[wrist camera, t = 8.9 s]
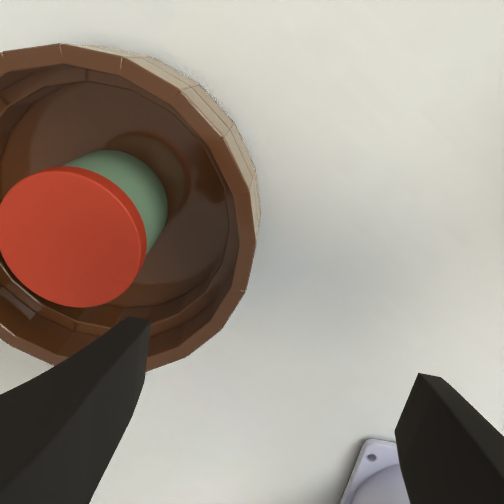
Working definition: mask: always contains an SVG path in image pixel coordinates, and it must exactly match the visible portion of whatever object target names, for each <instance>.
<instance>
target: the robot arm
mask: <svg viewBox="0 0 504 504" xmlns="http://www.w3.org/2000/svg"><path fill="white" fill-rule="evenodd" d="M151 321H152V320H147V319H141V318H136V317H131V316H128V317H126V318H125V319H123V320H122V321H121V322H119V323H118V324H116V325H115V326H114V327H112V328H111V329H110V330H108V331H107V332H105V333H104V334H103V335H101V336H100V337H98V338H97V339H96V340H94V341H93V342H91V343H90V344H88V345H87V346H85V347H84V348H82V349H81V350H80V351H78V352H77V353H75V354H74V355H72V356H71V357H69V358H67V359H66V360H64V361H62V362H61V363H59V364H57V365H56V366H54V367H52V368H51V369H49V370H47V371H46V372H44V373H42V374H41V375H39V376H37V377H35V378H33V379H31V380H30V381H28V382H26V383H24V384H22V385H19V386H17V387H15V388H13V389H11V390H9V391H7V392H5V393H3V394H1V395H0V504H89V503H90V501H91V498H92V496H93V494H94V492H95V490H96V488H97V486H98V484H99V482H100V480H101V478H102V476H103V474H104V472H105V470H106V468H107V466H108V464H109V462H110V460H111V458H112V456H113V454H114V452H115V450H116V448H117V446H118V444H119V442H120V440H121V438H122V436H123V434H124V432H125V430H126V428H127V426H128V424H129V422H130V420H131V418H132V415H133V413H134V410H135V407H136V404H137V402H138V399H139V396H140V393H141V390H142V387H143V384H144V380H145V372H146V363H147V355H148V346H149V338H150V329H151ZM395 438H396V443H393V442H388V441H383V440H378V439H369V440H367V441H365V443H364V444H363V447H362V449H361V452H360V454H359V457H358V459H357V462H356V464H355V467H354V469H353V472H352V474H351V477H350V479H349V482H348V484H347V487H346V489H345V492H344V494H343V497H342V500H341V502H340V504H504V436H503V435H502V434H500V433H499V432H498V431H497V430H496V429H495V428H494V427H493V426H492V425H491V424H490V423H489V422H488V421H487V420H486V419H485V418H484V417H483V416H482V415H481V414H480V413H479V412H478V411H477V410H476V409H475V408H474V407H473V406H471V405H470V404H469V403H468V402H467V401H466V400H465V399H464V398H463V397H462V396H461V395H460V394H459V393H458V392H457V391H456V390H455V389H454V388H453V387H452V386H451V385H449V384H448V383H447V382H446V381H445V380H444V379H442V378H441V377H437V376H431V375H426V374H421V373H418V375H417V378H416V380H415V383H414V385H413V387H412V390H411V392H410V395H409V397H408V400H407V402H406V404H405V407H404V409H403V412H402V414H401V416H400V419H399V421H398V424H397V426H396V429H395ZM370 454H373V455H371V456H368V455H370Z"/></svg>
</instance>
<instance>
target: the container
mask: <svg viewBox="0 0 504 504" xmlns="http://www.w3.org/2000/svg"><path fill="white" fill-rule="evenodd" d="M167 217H168V201H167V196H166V193H165V190H164V187H163V185H162V183H161V181H160V180H159V178H158V177H157V175H156V174H155V173H154V172H153V170H152V169H151V168H150V167H149V166H147V165H146V164H145V163H144V162H142V161H141V160H140V159H138V158H136V157H134V156H132V155H130V154H128V153H125V152H121V151H116V150H98V151H94V152H90V153H88V154H86V155H84V156H82V157H79V158H77V159H75V160H73V161H71V162H69V163H67V164H65V165H63V166H58V167H51V168H47V169H44V170H41V171H39V172H37V173H34V174H32V175H30V176H28V177H26V178H24V179H22V180H21V181H19V182H17V183H16V184H15V185H14V186H13V187H12V188H11V189H10V190H9V191H8V193H7V194H6V195H5V197H4V198H3V200H2V202H1V204H0V251H1V254H2V256H3V258H4V260H5V262H6V264H7V265H8V267H9V268H10V270H11V271H12V272H13V274H14V275H15V276H16V277H17V278H18V279H19V280H20V281H21V282H22V283H23V284H24V285H25V286H26V287H27V288H29V289H30V290H31V291H33V292H34V293H36V294H37V295H39V296H41V297H43V298H45V299H47V300H49V301H51V302H54V303H57V304H60V305H64V306H69V307H82V308H84V307H93V306H98V305H102V304H105V303H107V302H110V301H112V300H114V299H116V298H117V297H118V296H120V295H121V294H123V293H124V292H125V291H126V290H127V289H128V288H129V286H130V285H131V284H132V282H133V281H134V279H135V278H136V276H137V275H138V273H139V272H140V270H141V268H142V266H143V263H144V260H145V256H146V255H147V253H148V252H149V250H150V249H151V247H152V246H153V245H154V243H155V242H156V240H157V239H158V237H159V236H160V235H161V233H162V231H163V229H164V227H165V225H166V222H167Z"/></svg>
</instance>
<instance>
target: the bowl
mask: <svg viewBox="0 0 504 504" xmlns="http://www.w3.org/2000/svg"><path fill="white" fill-rule="evenodd" d="M98 150H116V151H121V152H125V153H128V154H130V155H132V156H134V157H136V158H138V159H140V160H141V161H142V162H144V163H145V164H146V165H147V166H149V167H150V168H151V169H152V170H153V172H154V173H155V174H156V175H157V177H158V178H159V180H160V181H161V183H162V185H163V187H164V190H165V193H166V196H167V201H168V217H167V222H166V225H165V227H164V229H163V231H162V233H161V235H160V236H159V237H158V239H157V240H156V242H155V243H154V245H153V246H152V247H151V249H150V250H149V252H148V253H147V255H146V256H145V260H144V263H143V266H142V268H141V270H140V272H139V273H138V275H137V276H136V278H135V279H134V281H133V282H132V284H131V285H130V286H129V288H128V289H127V290H126V291H125V292H124V293H123V294H121V295H120V296H118V297H117V298H116V299H114V300H112V301H110V302H107V303H105V304H102V305H98V306H93V307H84V308H82V307H69V306H64V305H60V304H57V303H54V302H51V301H49V300H47V299H45V298H43V297H41V296H39V295H37V294H36V293H34V292H33V291H31V290H30V289H29V288H27V287H26V286H25V285H24V284H23V283H22V282H21V281H20V280H19V279H18V278H17V277H16V276H15V275H14V274H13V272H12V271H11V270H10V268H9V267H8V265H7V264H6V262H5V260H4V258H3V256H2V254H1V251H0V339H2V340H3V341H4V342H6V343H7V344H9V345H10V346H12V347H15V348H17V349H19V350H21V351H23V352H25V353H27V354H30V355H32V356H34V357H36V358H38V359H40V360H42V361H45V362H47V363H49V364H51V365H54V366H56V365H57V364H59V363H61V362H62V361H64V360H66V359H67V358H69V357H71V356H72V355H74V354H75V353H77V352H78V351H80V350H81V349H82V348H84V347H85V346H87V345H88V344H90V343H91V342H93V341H94V340H96V339H97V338H98V337H100V336H101V335H103V334H104V333H105V332H107V331H108V330H110V329H111V328H112V327H114V326H115V325H116V324H118V323H119V322H121V321H122V320H123V319H125V318H126V317H128V316H131V317H136V318H141V319H147V320H152V321H151V329H150V338H149V346H148V355H147V363H146V372H147V371H150V370H152V369H155V368H158V367H161V366H163V365H166V364H169V363H172V362H175V361H177V360H180V359H183V358H186V357H187V356H189V355H190V354H191V353H192V352H194V351H195V350H196V349H198V348H199V347H200V346H201V345H203V344H204V343H205V342H206V341H208V340H209V339H210V338H212V337H213V336H214V335H215V334H217V333H218V332H219V331H221V329H222V328H223V327H224V325H225V324H226V322H227V321H228V319H229V317H230V316H231V314H232V313H233V311H234V310H235V308H236V306H237V305H238V303H239V302H240V300H241V299H242V297H243V295H244V294H245V291H246V290H247V285H248V280H249V276H250V271H251V267H252V262H253V257H254V253H255V248H256V243H257V235H258V228H259V221H260V204H259V195H258V187H257V178H256V170H255V166H254V164H253V162H252V160H251V158H250V156H249V153H248V151H247V149H246V147H245V145H244V143H243V140H242V138H241V136H240V134H239V132H238V130H237V127H236V125H235V124H234V123H233V121H232V120H231V119H230V118H229V117H228V116H227V114H226V113H225V112H224V111H223V110H222V109H221V108H220V107H219V106H218V104H217V103H216V102H215V101H214V100H213V99H212V98H211V97H210V96H209V95H208V93H207V92H206V91H205V90H204V89H203V88H202V87H201V86H199V84H198V83H196V82H195V81H193V80H191V79H189V78H188V77H186V76H184V75H183V74H181V73H179V72H178V71H176V70H174V69H172V68H171V67H169V66H167V65H166V64H164V63H162V62H161V61H159V60H157V59H155V58H152V57H149V56H145V55H140V54H135V53H131V52H126V51H121V50H117V49H112V48H107V47H100V46H86V45H75V44H62V43H58V44H51V45H44V46H37V47H30V48H23V49H16V50H9V51H3V52H2V53H0V204H1V202H2V200H3V198H4V197H5V195H6V194H7V193H8V191H9V190H10V189H11V188H12V187H13V186H14V185H15V184H16V183H17V182H19V181H21V180H22V179H24V178H26V177H28V176H30V175H32V174H34V173H37V172H39V171H41V170H44V169H47V168H51V167H58V166H63V165H65V164H67V163H69V162H71V161H73V160H75V159H77V158H79V157H82V156H84V155H86V154H88V153H90V152H94V151H98Z"/></svg>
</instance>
